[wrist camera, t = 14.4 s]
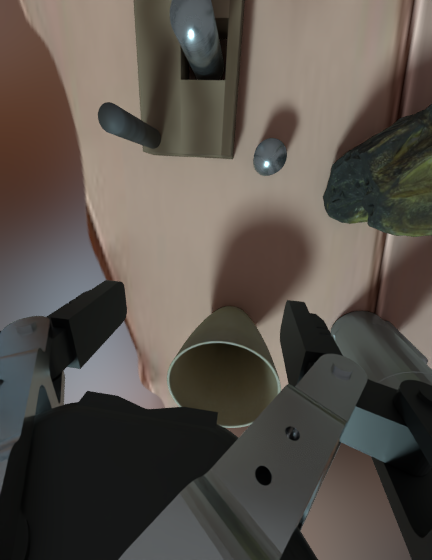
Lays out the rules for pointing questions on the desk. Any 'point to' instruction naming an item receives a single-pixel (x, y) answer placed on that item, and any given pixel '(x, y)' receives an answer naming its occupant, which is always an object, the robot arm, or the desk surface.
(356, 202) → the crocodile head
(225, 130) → the hole board
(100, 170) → the desk surface
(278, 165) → the short pin
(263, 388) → the plant pot
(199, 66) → the tall pin
